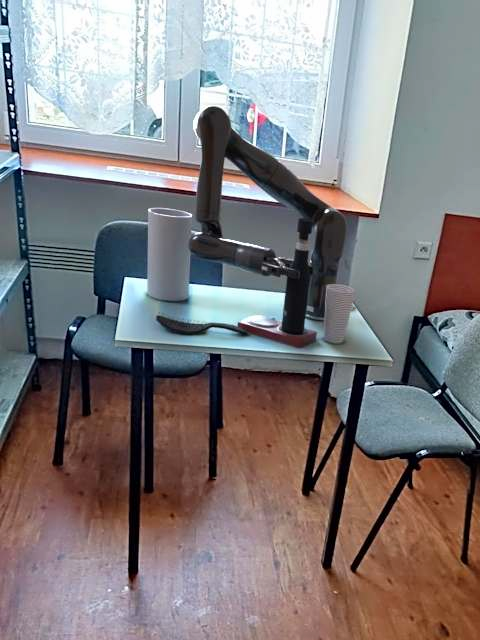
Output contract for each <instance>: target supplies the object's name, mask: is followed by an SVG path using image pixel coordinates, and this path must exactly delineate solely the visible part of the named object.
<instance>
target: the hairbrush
mask: <svg viewBox="0 0 480 640" xmlns="http://www.w3.org/2000/svg"><path fill="white" fill-rule="evenodd" d="M175 318H176V317H175V316H173V318H170V316H166V314H164V312H163V314H162V315H161V313H160V311H159V312H158V313H157V314H156V315H155V319H156V320H155V321H156V322H157V323H158V324H160V325H161V327H164V328H166V329H167V330H169V331H171V332H173V333H178V334H182V335H198V334H201V333H203V332H206V331H208V330H210V329H212V328H215V329H216V328H217V329H222V330H223V329H224V330H228V331H231V332H235V333H237V334H241V335H245V336H246V335H247V336H248V334H249V333H248V331H246V330H244V329H242V328H240V327H238V325H234V324H231V323H223V322H205V321H204V320H203V323H201V320H196V321H195V320H192V319H191V320H190V319H188V320H187V321H186V320H185V319H184V318H182V320H181V318H179V317H178V316H177V318H176V319H175ZM192 321H193V322H192ZM194 322H195V323H194ZM197 322H198V323H197Z"/></svg>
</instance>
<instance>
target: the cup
mask: <svg viewBox="0 0 480 640" xmlns="http://www.w3.org/2000/svg"><path fill="white" fill-rule="evenodd" d="M355 295H356V289H355V288H354V287H351V286H349V285H345V284H339V283H337V284H328V285H326V301H325V318H324V321H323V337H322V338H323V340H324V341H325V342H327V343H330V344H342V343H343V342H344V340H345V336H346V331H347V327H348V323H349V319H350V315H351V311H352V307H353V303H354V299H355Z"/></svg>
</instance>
